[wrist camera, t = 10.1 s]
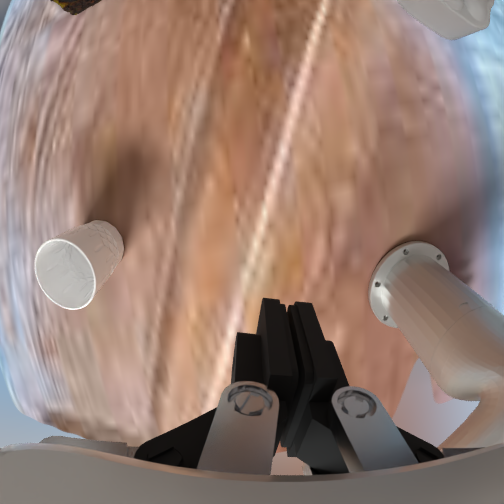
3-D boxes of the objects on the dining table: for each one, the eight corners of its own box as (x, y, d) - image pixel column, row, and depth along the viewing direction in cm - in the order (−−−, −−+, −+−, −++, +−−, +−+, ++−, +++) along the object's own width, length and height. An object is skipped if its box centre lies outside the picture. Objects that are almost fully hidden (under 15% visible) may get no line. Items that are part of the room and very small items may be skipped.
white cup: (70, 218, 37) (26, 242, 28) (122, 211, 37) (85, 234, 27) (83, 275, 40) (46, 309, 30) (134, 271, 39) (104, 309, 30)
